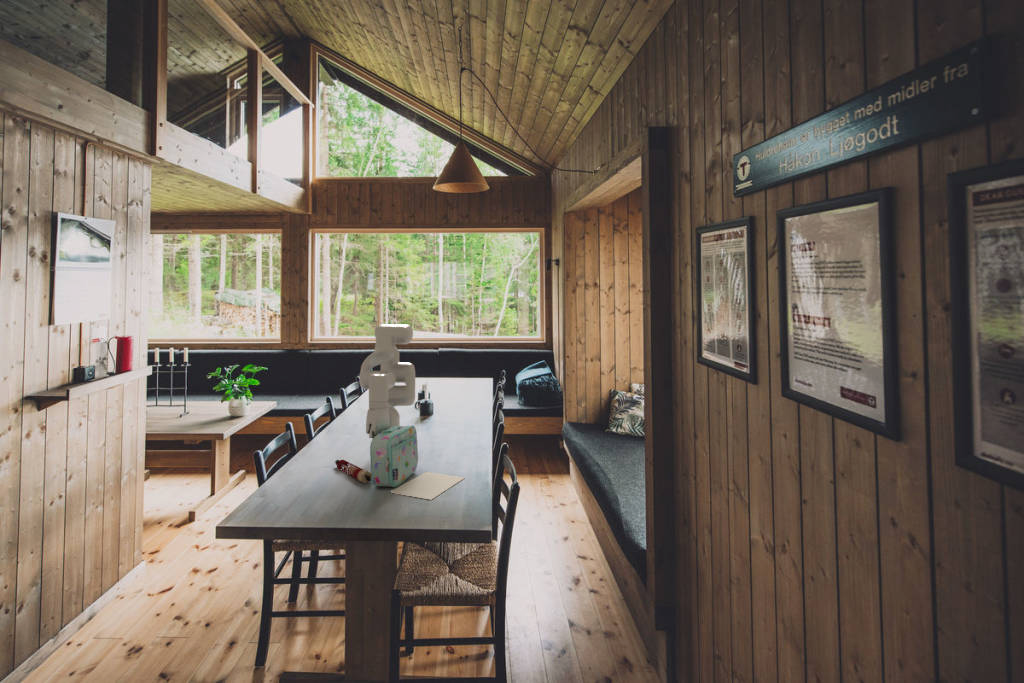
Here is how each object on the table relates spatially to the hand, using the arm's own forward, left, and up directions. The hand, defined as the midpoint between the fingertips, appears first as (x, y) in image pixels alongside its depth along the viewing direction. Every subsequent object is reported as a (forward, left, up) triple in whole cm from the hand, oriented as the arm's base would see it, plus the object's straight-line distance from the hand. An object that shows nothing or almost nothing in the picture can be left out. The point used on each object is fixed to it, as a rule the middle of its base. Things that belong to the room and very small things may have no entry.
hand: (378, 450), depth 211 cm
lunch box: (+8, 0, -12) cm, 14 cm away
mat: (+23, 0, -11) cm, 25 cm away
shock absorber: (-11, -2, -12) cm, 16 cm away
